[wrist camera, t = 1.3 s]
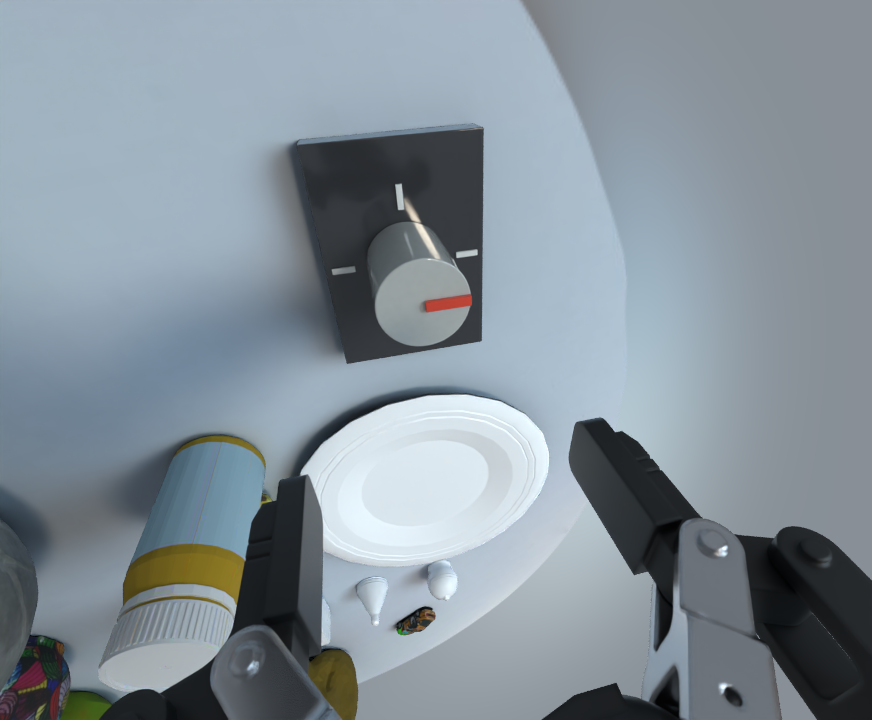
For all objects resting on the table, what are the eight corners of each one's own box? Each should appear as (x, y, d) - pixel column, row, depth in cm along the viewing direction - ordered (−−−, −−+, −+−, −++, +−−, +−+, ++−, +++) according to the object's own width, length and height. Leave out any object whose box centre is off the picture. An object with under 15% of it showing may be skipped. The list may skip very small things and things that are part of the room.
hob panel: (298, 139, 23) (296, 145, 21) (473, 123, 24) (484, 127, 22) (345, 348, 31) (347, 365, 29) (474, 328, 32) (482, 342, 30)
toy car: (392, 625, 58) (394, 639, 57) (424, 604, 57) (426, 618, 55) (405, 628, 60) (407, 642, 58) (436, 609, 58) (439, 622, 57)
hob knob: (372, 303, 27) (382, 356, 22) (359, 226, 24) (367, 268, 19) (446, 292, 28) (473, 341, 23) (443, 216, 25) (472, 254, 20)
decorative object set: (288, 599, 49) (285, 641, 45) (452, 555, 51) (461, 592, 47) (300, 615, 51) (298, 656, 48) (455, 573, 53) (464, 610, 50)
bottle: (169, 429, 32) (72, 649, 20) (267, 431, 34) (232, 631, 22) (178, 489, 35) (101, 704, 23) (266, 487, 37) (236, 684, 25)
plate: (317, 570, 46) (316, 587, 45) (266, 402, 32) (263, 419, 31) (525, 529, 51) (531, 543, 49) (562, 365, 36) (572, 378, 35)
